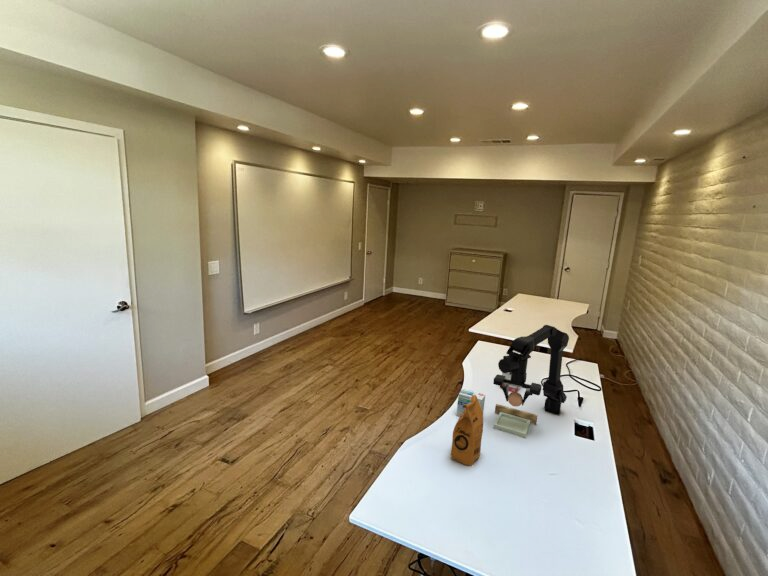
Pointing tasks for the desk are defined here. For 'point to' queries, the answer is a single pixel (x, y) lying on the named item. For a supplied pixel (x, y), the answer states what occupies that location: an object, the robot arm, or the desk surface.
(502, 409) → the oak rail
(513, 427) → the sage tray
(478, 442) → the coffee package
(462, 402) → the light bulb box
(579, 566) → the desk surface
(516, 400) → the ball
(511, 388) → the ink box
